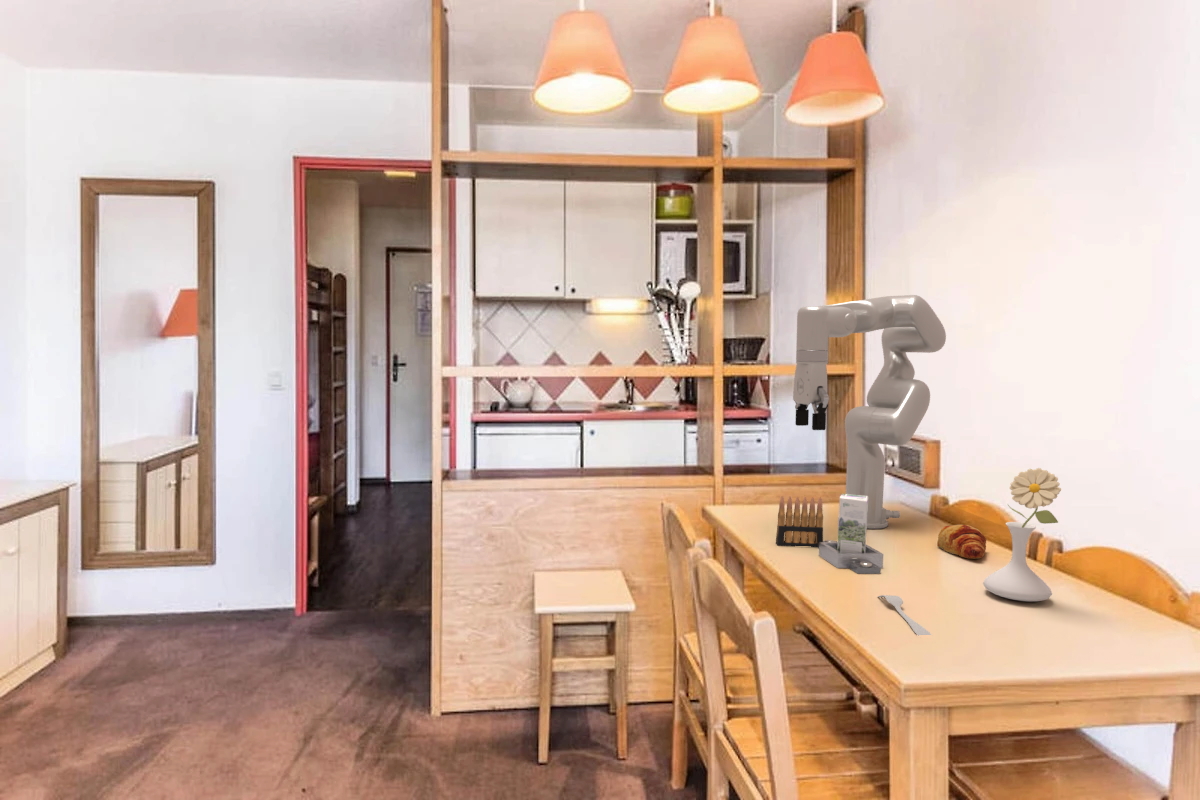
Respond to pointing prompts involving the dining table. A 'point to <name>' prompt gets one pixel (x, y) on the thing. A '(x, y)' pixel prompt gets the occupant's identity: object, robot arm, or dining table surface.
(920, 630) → the fork
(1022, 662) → the dining table surface
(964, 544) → the croissant
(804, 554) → the dining table surface
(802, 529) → the ammunition clip
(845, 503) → the syrup box
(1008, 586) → the flower in vase
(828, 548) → the bolted metal bracket
